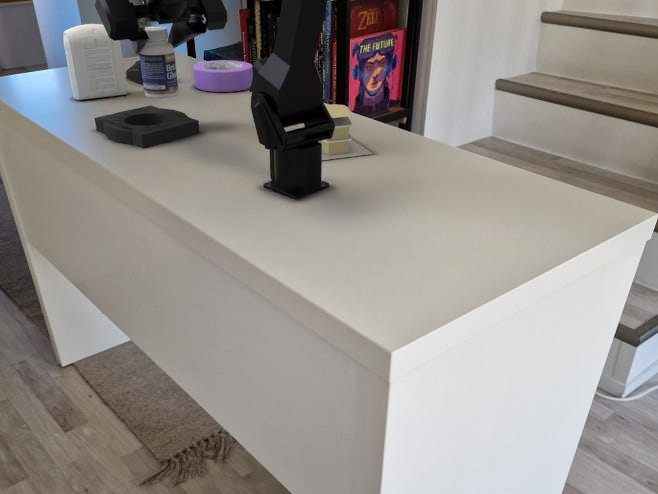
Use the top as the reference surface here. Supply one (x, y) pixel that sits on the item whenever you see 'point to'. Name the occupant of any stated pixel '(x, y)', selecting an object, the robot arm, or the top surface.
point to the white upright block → (94, 62)
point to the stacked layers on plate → (341, 136)
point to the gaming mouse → (135, 72)
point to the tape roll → (223, 75)
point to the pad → (158, 130)
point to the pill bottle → (158, 65)
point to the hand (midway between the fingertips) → (152, 49)
